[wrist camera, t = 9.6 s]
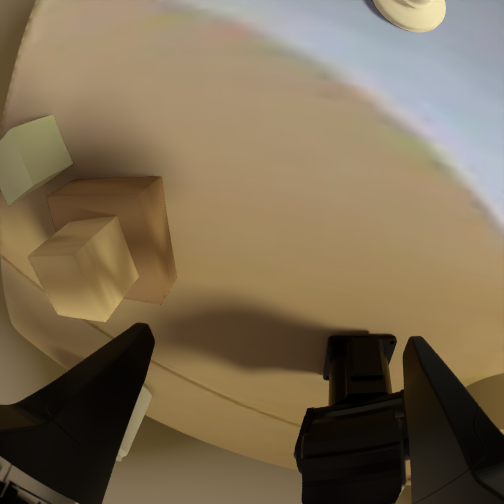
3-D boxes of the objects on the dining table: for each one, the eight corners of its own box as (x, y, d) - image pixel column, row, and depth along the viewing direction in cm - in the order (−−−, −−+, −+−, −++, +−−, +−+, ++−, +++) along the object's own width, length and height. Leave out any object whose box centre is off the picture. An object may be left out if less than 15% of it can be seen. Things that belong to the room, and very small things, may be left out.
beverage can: (142, 374, 36) (106, 448, 26) (160, 400, 39) (131, 467, 29) (107, 367, 38) (70, 433, 28) (126, 392, 41) (96, 454, 31)
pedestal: (179, 274, 26) (160, 304, 23) (98, 264, 27) (76, 288, 24) (163, 174, 21) (137, 195, 18) (76, 178, 23) (46, 196, 19)
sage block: (73, 163, 21) (33, 185, 17) (44, 184, 23) (8, 206, 19) (53, 114, 19) (10, 128, 15) (25, 140, 21) (-13, 157, 17)
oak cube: (139, 276, 21) (105, 322, 17) (91, 275, 23) (58, 314, 18) (117, 215, 19) (72, 255, 15) (69, 222, 20) (27, 256, 16)
